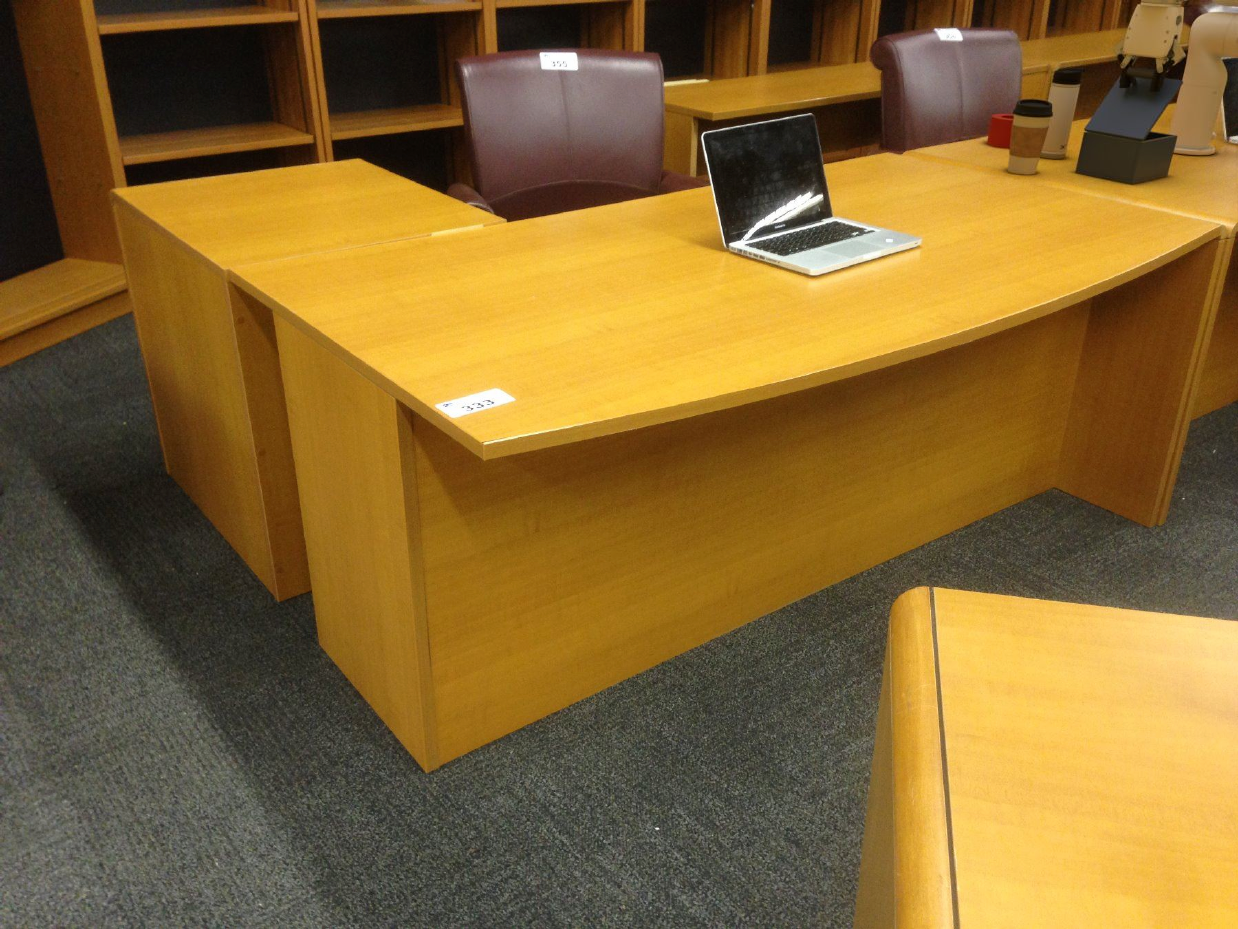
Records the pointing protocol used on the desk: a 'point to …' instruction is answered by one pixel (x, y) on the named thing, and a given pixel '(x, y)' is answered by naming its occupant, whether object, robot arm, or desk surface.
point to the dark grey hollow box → (1126, 157)
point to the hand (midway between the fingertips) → (1139, 88)
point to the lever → (1000, 130)
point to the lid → (1133, 106)
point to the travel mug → (1061, 111)
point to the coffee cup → (1028, 135)
